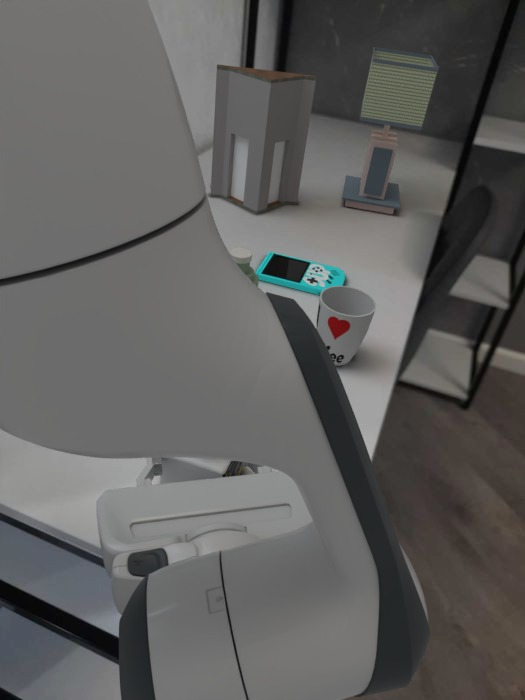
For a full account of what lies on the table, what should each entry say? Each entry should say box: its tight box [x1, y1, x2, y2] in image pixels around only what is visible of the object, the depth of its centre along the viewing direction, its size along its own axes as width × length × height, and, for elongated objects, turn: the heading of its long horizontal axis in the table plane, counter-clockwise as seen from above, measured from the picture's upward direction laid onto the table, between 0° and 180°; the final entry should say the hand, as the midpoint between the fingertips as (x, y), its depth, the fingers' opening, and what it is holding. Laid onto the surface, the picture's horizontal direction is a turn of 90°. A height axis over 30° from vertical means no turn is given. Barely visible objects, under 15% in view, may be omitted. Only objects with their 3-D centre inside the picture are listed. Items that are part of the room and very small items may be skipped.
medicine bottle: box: [159, 457, 243, 484], centre depth 55 cm, size 7×7×12 cm
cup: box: [315, 285, 377, 367], centre depth 77 cm, size 8×8×10 cm
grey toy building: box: [210, 64, 317, 215], centre depth 114 cm, size 21×10×28 cm, turn 92°
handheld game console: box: [254, 251, 346, 296], centre depth 98 cm, size 10×16×1 cm, turn 73°
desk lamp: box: [341, 46, 439, 215], centre depth 124 cm, size 18×14×33 cm
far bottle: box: [229, 246, 260, 288], centre depth 78 cm, size 6×6×13 cm
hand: (200, 451), depth 54 cm, fingers closed on medicine bottle, 8 cm apart
